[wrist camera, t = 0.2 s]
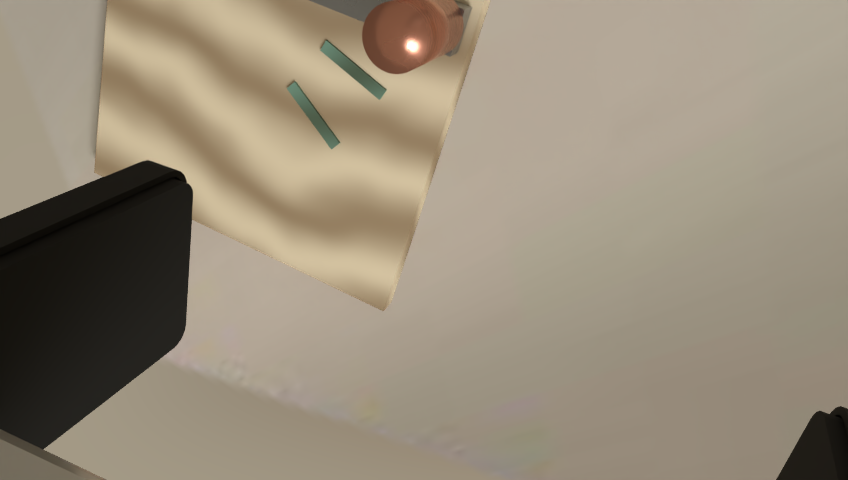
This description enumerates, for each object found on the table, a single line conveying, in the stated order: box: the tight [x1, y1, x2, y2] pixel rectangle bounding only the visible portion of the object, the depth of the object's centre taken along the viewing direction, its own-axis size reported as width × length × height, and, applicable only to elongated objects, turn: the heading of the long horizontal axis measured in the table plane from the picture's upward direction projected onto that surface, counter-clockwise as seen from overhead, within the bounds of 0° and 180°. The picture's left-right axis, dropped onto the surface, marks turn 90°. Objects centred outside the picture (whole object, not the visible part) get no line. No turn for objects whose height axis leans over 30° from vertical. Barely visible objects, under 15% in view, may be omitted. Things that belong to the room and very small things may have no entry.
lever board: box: [94, 0, 490, 311], centre depth 50 cm, size 26×26×2 cm
